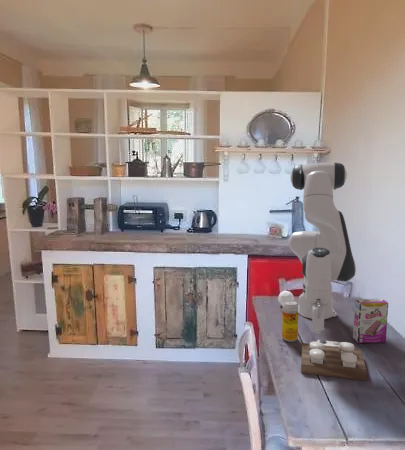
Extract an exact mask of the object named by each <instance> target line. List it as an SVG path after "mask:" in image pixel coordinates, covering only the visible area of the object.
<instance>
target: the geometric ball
mask: <svg viewBox="0 0 405 450" xmlns="http://www.w3.org/2000/svg"><path fill="white" fill-rule="evenodd" d="M277 298H278V299H277V300H278V303H279V304H280V305H281V306H282V305H283V303H284V301H295V296H294V294H293V293H292V292H291V291H290V290H283V291H281V292H280V293H279V294H278V297H277Z"/></svg>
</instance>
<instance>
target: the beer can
mask: <svg viewBox="0 0 405 450" xmlns="http://www.w3.org/2000/svg"><path fill="white" fill-rule="evenodd" d="M298 305H299V303H298V302H297V301H295V300H294V301H284V303H283V305H281V306H282V311H281V312H282V313H281V314H282V315H281V316H282V317H281V319H282V320H281V321H282V323H281V324H282V325H281V338H282V339H283V340H284V341H286V342H290V343H291V342H292V343H294V342H296V341H297V340H298V338H299V314H298Z"/></svg>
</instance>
